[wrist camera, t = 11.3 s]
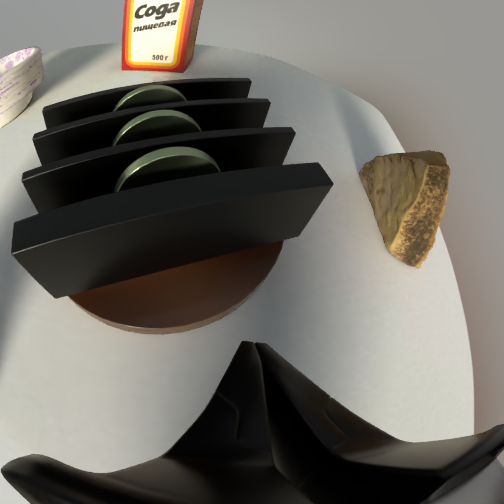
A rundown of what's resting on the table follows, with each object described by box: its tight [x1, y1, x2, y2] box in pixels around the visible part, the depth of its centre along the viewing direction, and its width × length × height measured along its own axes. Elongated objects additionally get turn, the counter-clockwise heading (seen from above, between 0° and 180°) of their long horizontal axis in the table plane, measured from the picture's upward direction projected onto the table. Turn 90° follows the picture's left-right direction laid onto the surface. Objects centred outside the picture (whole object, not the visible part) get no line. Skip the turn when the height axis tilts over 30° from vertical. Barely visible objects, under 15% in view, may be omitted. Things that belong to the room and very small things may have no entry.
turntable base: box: [68, 240, 284, 334], centre depth 18 cm, size 18×18×2 cm
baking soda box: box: [122, 0, 203, 73], centre depth 25 cm, size 10×6×16 cm
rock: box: [359, 150, 450, 268], centre depth 22 cm, size 11×9×10 cm
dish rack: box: [11, 78, 333, 299], centre depth 15 cm, size 12×15×7 cm
